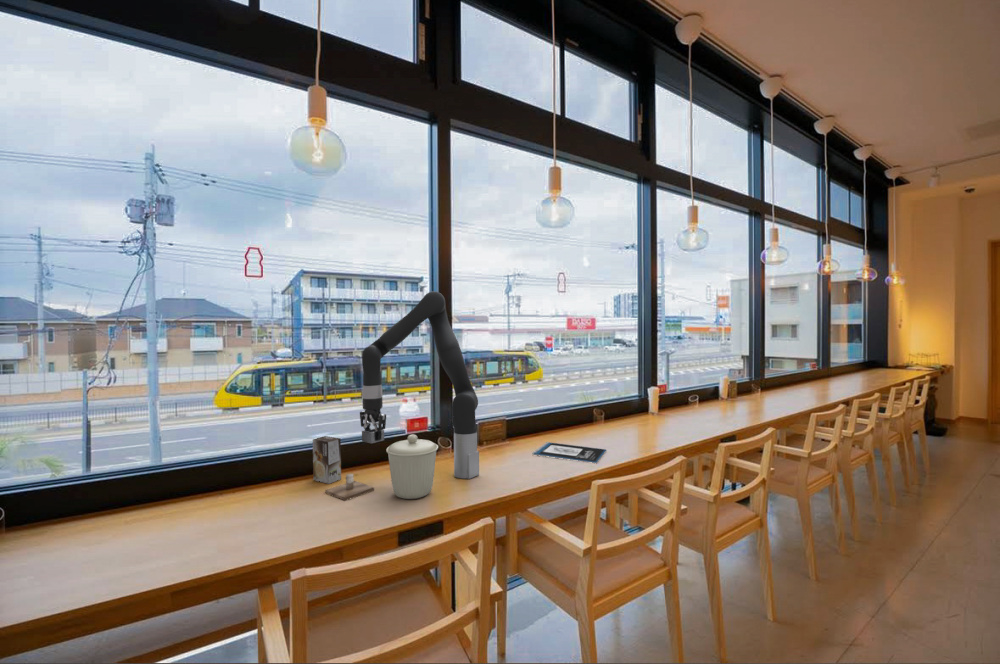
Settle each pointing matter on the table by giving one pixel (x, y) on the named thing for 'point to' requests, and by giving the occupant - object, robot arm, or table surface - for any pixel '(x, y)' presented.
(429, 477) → the canister
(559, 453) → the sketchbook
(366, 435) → the collar
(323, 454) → the coffee box
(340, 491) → the post stand
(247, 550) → the table surface
